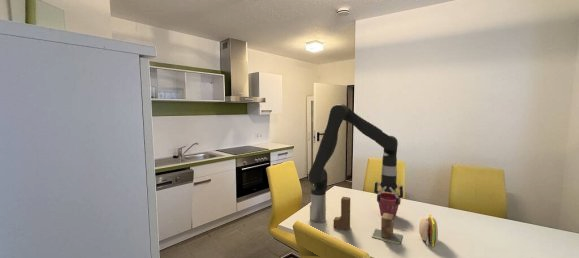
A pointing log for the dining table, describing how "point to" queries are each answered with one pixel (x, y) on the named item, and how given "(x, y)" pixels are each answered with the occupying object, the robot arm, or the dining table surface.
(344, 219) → the wooden block
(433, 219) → the hamburger
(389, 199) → the plant pot
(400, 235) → the mat
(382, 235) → the walnut block
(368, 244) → the dining table surface
